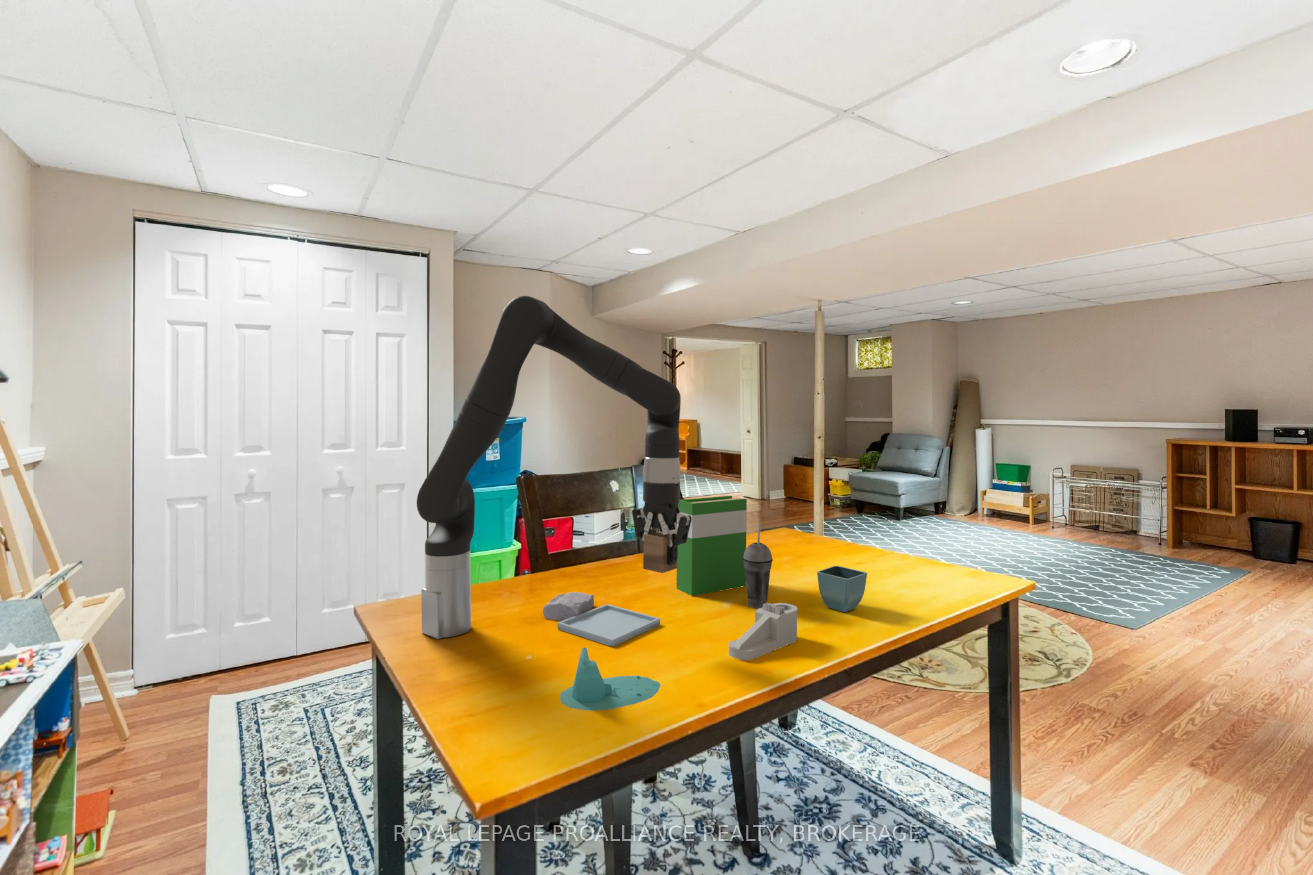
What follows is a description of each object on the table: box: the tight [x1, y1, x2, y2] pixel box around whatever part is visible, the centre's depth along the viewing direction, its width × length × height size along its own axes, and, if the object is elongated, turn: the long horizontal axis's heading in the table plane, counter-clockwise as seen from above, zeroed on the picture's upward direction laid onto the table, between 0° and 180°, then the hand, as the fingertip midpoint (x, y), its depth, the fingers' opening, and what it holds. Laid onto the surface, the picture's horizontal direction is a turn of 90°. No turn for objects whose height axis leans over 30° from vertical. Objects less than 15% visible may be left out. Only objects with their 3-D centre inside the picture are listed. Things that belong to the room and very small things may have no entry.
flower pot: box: [816, 565, 868, 613], centre depth 144 cm, size 9×9×9 cm
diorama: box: [559, 647, 665, 712], centre depth 100 cm, size 12×20×9 cm, turn 112°
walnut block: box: [642, 530, 678, 574], centre depth 121 cm, size 5×5×7 cm
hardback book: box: [676, 495, 748, 597], centre depth 160 cm, size 18×7×24 cm, turn 120°
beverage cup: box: [743, 523, 774, 609], centre depth 145 cm, size 7×7×20 cm
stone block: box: [542, 591, 595, 621], centre depth 141 cm, size 12×5×10 cm
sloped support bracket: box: [728, 602, 798, 661], centre depth 120 cm, size 6×18×8 cm, turn 131°
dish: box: [557, 603, 661, 648], centre depth 131 cm, size 16×16×1 cm
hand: (660, 561), depth 121 cm, fingers closed on walnut block, 5 cm apart
